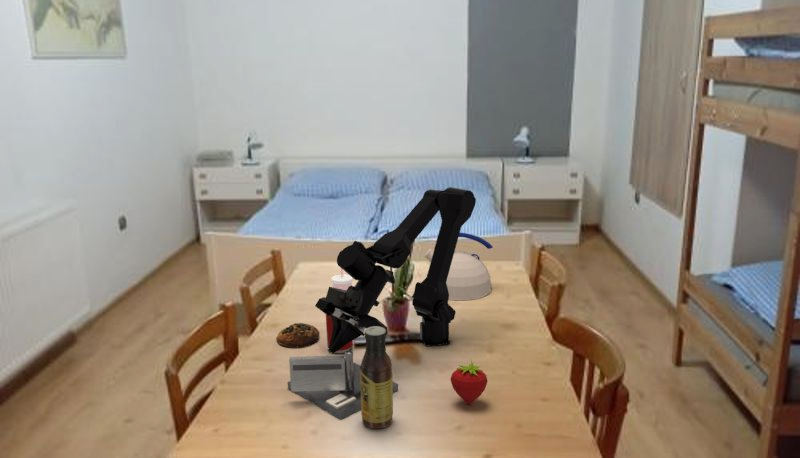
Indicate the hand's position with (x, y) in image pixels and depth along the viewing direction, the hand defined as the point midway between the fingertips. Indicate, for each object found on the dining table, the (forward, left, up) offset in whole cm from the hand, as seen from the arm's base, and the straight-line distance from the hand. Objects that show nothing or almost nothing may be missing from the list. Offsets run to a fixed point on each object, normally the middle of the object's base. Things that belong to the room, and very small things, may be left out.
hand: (330, 352), depth 138 cm
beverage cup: (-6, -46, -9) cm, 47 cm away
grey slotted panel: (+2, +5, -6) cm, 8 cm away
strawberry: (-27, +12, -9) cm, 31 cm away
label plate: (-1, +9, -7) cm, 11 cm away
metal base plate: (-2, +1, -8) cm, 9 cm away
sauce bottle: (-8, +15, -9) cm, 19 cm away
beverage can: (-3, -19, -9) cm, 21 cm away
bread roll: (+7, -27, -9) cm, 29 cm away
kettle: (-42, -54, -9) cm, 69 cm away
